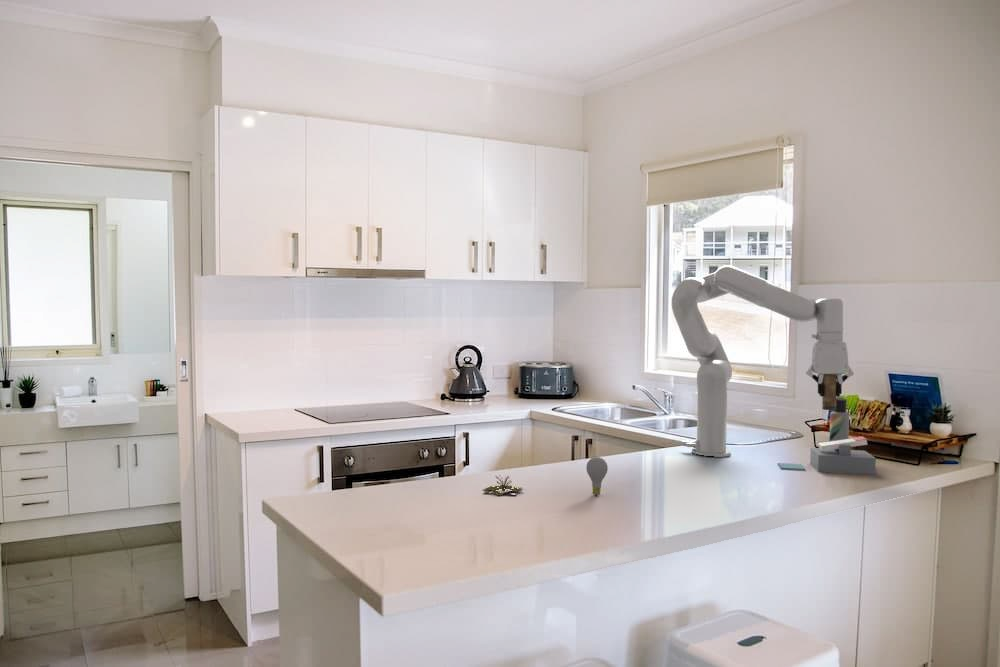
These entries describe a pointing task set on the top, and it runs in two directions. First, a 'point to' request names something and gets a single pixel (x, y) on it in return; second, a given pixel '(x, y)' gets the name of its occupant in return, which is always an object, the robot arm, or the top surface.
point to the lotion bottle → (839, 421)
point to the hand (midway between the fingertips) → (829, 395)
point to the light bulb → (596, 473)
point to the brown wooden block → (829, 392)
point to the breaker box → (843, 460)
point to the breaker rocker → (843, 443)
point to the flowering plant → (501, 487)
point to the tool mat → (791, 466)
